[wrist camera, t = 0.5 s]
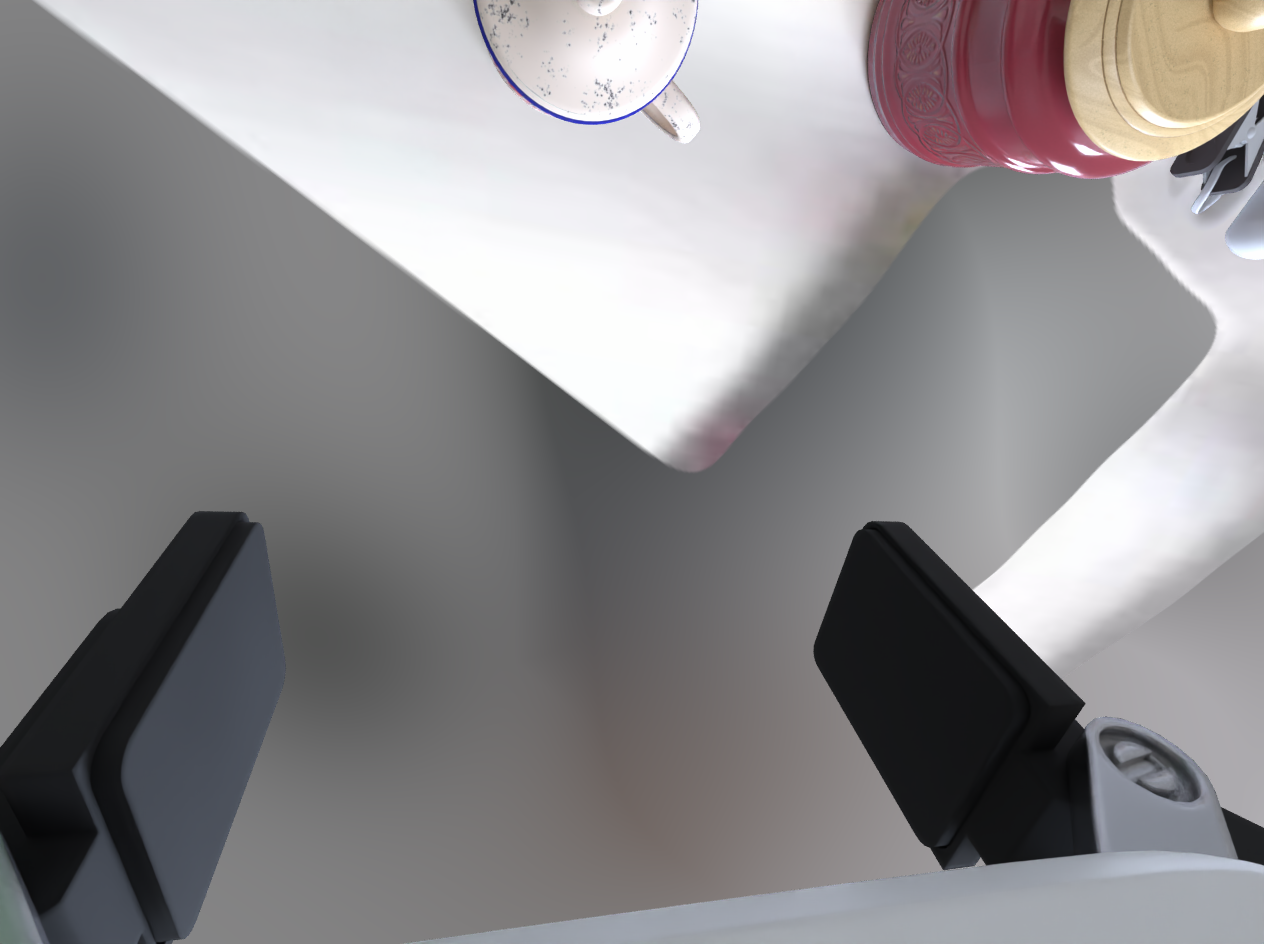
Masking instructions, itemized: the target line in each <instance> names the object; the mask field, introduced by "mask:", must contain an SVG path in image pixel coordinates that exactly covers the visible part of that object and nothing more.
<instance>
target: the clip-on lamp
mask: <svg viewBox="0 0 1264 944" xmlns="http://www.w3.org/2000/svg"><path fill="white" fill-rule="evenodd" d="M1263 154H1264V95H1263V96H1262V97H1261V98H1260V99H1259V100H1258V101H1257V102H1256V103H1255V104H1254V105H1253V106H1252V107H1251V108H1250V109H1249V110H1248V111H1247V112H1246V113H1245V114H1244V115H1243V116H1241V117H1240V118H1239V119H1238V120H1237V121H1236V122H1234V123H1233V124H1232V125H1231V126H1229V127H1228V128H1227V129H1225V130H1224V131H1223V132H1221V133H1220V134H1218V135H1217V136H1215V137H1214V138H1212V139H1211V140H1209V141H1207V142H1206V143H1204V144H1202V145H1200V146H1198V147H1196V148H1194V149H1192V150H1190V151H1188V152H1185V153H1183V154H1180V155H1178V156H1177V158H1176V160H1175V161H1174V163H1173V165H1172V166H1171V170H1170V172H1171V173H1172V174H1173V175H1174V176H1175V177H1186V176H1192V175H1197V174H1203V184H1202V187H1201V190H1202V191H1201V193H1200V194H1199V196H1198V198H1197V199H1196V201H1195V202H1194V204H1193V206H1192V208H1191V210H1192V211H1193V212H1194V213H1195V214H1199V213H1201V212H1203V211H1204V210H1206V209H1207V208H1208V207H1210V206H1211V205H1212V204H1213V203H1214V202H1216V201H1217V200H1218V199H1219V198H1220V197H1221V196H1222V195H1223V194H1227V193H1234V192H1237V191H1240V190H1242V189H1243V188H1245V187H1246V186H1247V185H1248V184H1249V183H1250V181H1251V180H1252V177H1253V175H1254V173H1255V171H1256V168H1257V166H1258V164H1259V162H1260V159H1261V157H1262V155H1263ZM1209 195H1211V196H1210V197H1209V198H1208V199H1207V197H1208V196H1209ZM1206 199H1207V200H1206ZM1205 200H1206V201H1205ZM1225 241H1226V243H1227V246H1228V248H1229V249H1230V250H1231V251H1232V252H1233V253H1234V254H1236V255H1238V256H1240V257H1243V258H1247V259H1263V258H1264V181H1263V182H1262V183H1261V185H1260V186H1259V188H1258V189H1257V190H1256V192H1255V193H1254V194H1253V196H1252V197H1251V198H1250V200H1249V201H1248V202H1247V204H1246V205H1245V206H1244V208H1243V209H1242V210H1241V212H1240V213H1239V215H1238V216H1237V217H1236V219H1235V220H1234V221H1233V223H1232V224H1231V225H1230V227H1229V228H1228V230H1227V231H1226V235H1225Z"/></svg>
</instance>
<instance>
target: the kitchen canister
mask: <svg viewBox="0 0 1264 944" xmlns="http://www.w3.org/2000/svg"><path fill="white" fill-rule="evenodd" d="M868 77H869V85H870V91H871V96H872V99H873V103H874V106H875V109H876V111H877V114H878V116H879V118H880V120H881V122H882V124H883V126H884V127H885V129H886V130H887V132H888V133H889V134H890V136H891V137H892V138H893V139H894V140H895V141H896V142H897V143H898V144H899V145H900V146H902V147H903V148H904V149H906V150H907V151H909V152H911V153H913V154H915V155H916V156H918V157H920V158H922V159H924V160H926V161H928V162H931V163H934V164H938V165H943V166H952V167H974V166H980V165H981V166H993V167H1005V168H1008V169H1011V170H1014V171H1017V172H1021V173H1027V174H1050V173H1056V172H1059V173H1061V174H1064V175H1067V176H1071V177H1075V178H1083V179H1098V178H1106V177H1113V176H1117V175H1120V174H1124V173H1127V172H1130V171H1133V170H1135V169H1138V168H1140V167H1142V166H1145V165H1147V164H1149V163H1151V162H1152V161H1155V160H1161V159H1166V158H1170V157H1174V156H1177V155H1180V154H1183V153H1185V152H1188V151H1190V150H1192V149H1194V148H1196V147H1198V146H1200V145H1202V144H1204V143H1206V142H1207V141H1209V140H1211V139H1212V138H1214V137H1215V136H1217V135H1218V134H1220V133H1221V132H1223V131H1224V130H1225V129H1227V128H1228V127H1229V126H1231V125H1232V124H1233V123H1234V122H1236V121H1237V120H1238V119H1239V118H1240V117H1241V116H1243V115H1244V114H1245V113H1246V112H1247V111H1248V110H1249V109H1250V108H1251V107H1252V106H1253V105H1254V104H1255V103H1256V102H1257V101H1258V100H1259V99H1260V98H1261V97H1262V96H1263V95H1264V0H879V3H878V6H877V9H876V12H875V16H874V19H873V24H872V28H871V34H870V40H869V49H868Z"/></svg>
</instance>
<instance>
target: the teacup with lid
mask: <svg viewBox="0 0 1264 944" xmlns="http://www.w3.org/2000/svg"><path fill="white" fill-rule="evenodd" d="M473 2H474V8H475V13H476V17H477V21H478V24H479V27H480V30H481V33H482V36H483V39H484V41H485V43H486V46H487V48H488V51H489V54H490V56H491V58H492V61H493V63H494V65H495V67H496V69H497V71H498V72H499V74H500V76H501V77H502V79H503V80H504V81H505V83H506V84H507V85H508V87H509V88H510V89H511V90H512V91H513V92H514V93H515V94H516V95H517V96H518V97H519V98H520V99H521V100H522V101H524V102H525V103H526V104H528V105H529V106H531V107H532V108H534V109H535V110H537V111H539V112H541V113H544V114H546V115H549V116H552V117H556V118H559V119H562V120H564V121H568V122H572V123H578V124H587V125H597V124H606V123H611V122H616V121H619V120H622V119H625V118H627V117H629V116H631V115H633V114H635V113H637V112H639V111H641V112H642V113H643V114H644V115H645V116H646V117H647V118H648V119H649V120H650V121H651V122H652V123H653V124H654V125H655V126H656V127H657V128H659V129H660V130H661V131H662V132H664V133H665V134H666V135H667V136H669V137H670V138H672V139H674V140H675V141H678V142H680V143H688V142H690V141H691V140H692V139H693V138H694V136H695V135H696V134H697V133H698V131H699V129H700V119H699V116H698V114H697V112H696V111H695V109H694V107H693V106H692V104H691V103H690V101H689V100H688V99H687V97H686V96H685V95H684V94H683V92H682V91H681V90H680V89H679V88H678V86H677V85H676V84H675V83H674V82H673V81H672V79H673V78H674V76H675V75H676V73H677V71H678V70H679V68H680V66H681V64H682V62H683V60H684V58H685V56H686V53H687V51H688V48H689V46H690V43H691V39H692V36H693V32H694V27H695V23H696V17H697V9H698V0H473Z"/></svg>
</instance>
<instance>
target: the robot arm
mask: <svg viewBox="0 0 1264 944" xmlns="http://www.w3.org/2000/svg"><path fill="white" fill-rule="evenodd" d="M814 658H815V661H816V664H817V666H818V668H819V670H820V671H821V673H822V675H823V677H824V678H825V680H826V682H827V683H828V685H829V687H830V688H831V690H832V692H833V694H834V695H835V697H836V699H837V701H838V702H839V704H840V705H841V707H842V709H843V711H844V712H845V714H846V716H847V718H848V720H849V721H850V723H851V725H852V726H853V728H854V730H855V731H856V733H857V735H858V737H859V738H860V740H861V742H862V744H863V745H864V747H865V749H866V750H867V752H868V754H869V756H870V757H871V759H872V761H873V762H874V764H875V766H876V768H877V769H878V771H879V773H880V775H881V776H882V778H883V779H884V781H885V783H886V785H887V787H888V788H889V790H890V792H891V793H892V795H893V797H894V799H895V800H896V802H897V804H898V805H899V807H900V809H901V811H902V812H903V814H904V816H905V817H906V819H907V821H908V823H909V824H910V826H911V828H912V829H913V831H914V833H915V835H916V836H917V837H918V839H919V840H920V842H921V843H922V844H924V845H925V846H927V847H930V848H931V850H932V852H933V854H934V855H935V857H936V859H937V860H938V862H939V864H940V865H941V867H942V869H943V870H947V871H940V872H932V873H925V874H916V875H909V876H900V877H892V878H884V879H876V880H868V881H861V882H853V883H845V884H837V885H830V886H822V887H814V888H807V889H799V890H792V891H784V892H777V893H769V894H761V895H754V896H747V897H739V898H731V899H724V900H716V901H709V902H701V903H694V904H686V905H679V906H672V907H665V908H657V909H650V910H642V911H634V912H627V913H619V914H612V915H604V916H597V917H590V918H583V919H576V920H568V921H561V922H555V923H547V924H540V925H532V926H525V927H518V928H511V929H503V930H496V931H490V932H482V933H475V934H468V935H461V936H453V937H446V938H439V939H431V940H424V941H417V942H410V943H403V944H1264V828H1263V827H1261V826H1259V825H1257V824H1255V823H1252V822H1251V821H1249V820H1246V819H1244V818H1242V817H1240V816H1238V815H1236V814H1234V813H1232V812H1230V811H1228V810H1226V809H1224V808H1222V807H1220V804H1219V801H1218V798H1217V795H1216V792H1215V790H1214V788H1213V786H1212V784H1211V782H1210V780H1209V778H1208V777H1207V775H1206V774H1205V773H1204V772H1203V771H1202V770H1201V768H1200V767H1199V766H1198V765H1197V764H1196V763H1195V762H1194V760H1192V759H1191V758H1190V757H1189V756H1188V755H1187V754H1185V753H1184V752H1183V751H1182V750H1181V749H1179V748H1178V747H1177V746H1176V745H1174V744H1173V743H1171V742H1170V741H1168V740H1167V739H1165V738H1164V737H1162V736H1161V735H1159V734H1157V733H1155V732H1153V731H1151V730H1149V729H1147V728H1145V727H1143V726H1141V725H1139V724H1136V723H1133V722H1130V721H1127V720H1124V719H1121V718H1113V717H1101V718H1095V719H1093V720H1092V721H1091V722H1090V723H1089V724H1088V725H1087V726H1086V727H1085V729H1083V727H1082V726H1081V725H1080V724H1079V723H1078V722H1077V721H1076V720H1075V718H1076V717H1077V715H1078V714H1079V712H1080V711H1081V709H1082V708H1083V707H1084V705H1085V702H1083V700H1082V699H1081V698H1080V697H1079V696H1077V694H1076V693H1075V692H1074V691H1073V690H1071V688H1070V687H1068V685H1067V684H1066V683H1065V682H1064V681H1063V680H1062V679H1061V678H1060V677H1059V676H1058V675H1057V674H1056V673H1055V672H1054V671H1053V670H1052V669H1051V668H1050V667H1049V666H1048V665H1047V664H1046V663H1045V662H1044V661H1043V660H1042V659H1041V658H1040V657H1039V656H1038V655H1037V654H1036V653H1035V652H1034V651H1033V650H1032V649H1031V648H1030V647H1029V646H1028V645H1027V644H1026V643H1025V642H1024V641H1023V640H1022V639H1021V638H1020V637H1019V636H1018V635H1017V634H1016V633H1015V632H1014V631H1013V630H1012V629H1011V628H1010V627H1009V626H1008V625H1007V624H1006V623H1005V622H1004V621H1003V620H1002V619H1001V618H1000V617H999V616H998V615H997V614H996V613H995V612H994V611H993V610H992V609H991V608H990V607H989V606H988V605H987V604H986V603H985V602H984V601H983V600H982V599H981V598H980V597H979V596H978V595H977V594H976V593H975V592H974V591H973V590H972V589H971V588H970V587H969V586H968V585H967V584H966V583H965V582H964V581H963V580H962V579H961V578H960V577H958V575H957V574H956V573H955V572H954V571H953V570H952V569H951V568H950V567H949V566H948V565H947V564H946V563H945V562H944V561H943V560H942V559H941V558H940V557H939V556H938V555H937V554H936V553H935V552H934V551H933V550H932V549H931V548H930V547H929V546H928V545H927V544H926V543H925V542H924V541H923V540H922V539H921V538H920V537H919V536H918V535H917V534H916V533H915V532H914V531H913V530H912V529H911V528H910V527H909V526H908V525H906V524H905V523H903V522H884V521H883V522H882V521H871V522H869V523H867V524H866V525H865V526H864V527H863V529H862V530H859V531H857V533H856V534H855V536H854V537H853V540H852V543H851V546H850V548H849V551H848V554H847V557H846V559H845V562H844V565H843V567H842V570H841V573H840V575H839V578H838V581H837V584H836V586H835V589H834V592H833V594H832V597H831V600H830V602H829V605H828V608H827V611H826V613H825V616H824V619H823V621H822V624H821V627H820V629H819V632H818V635H817V638H816V640H815V644H814ZM285 671H286V664H285V656H284V650H283V644H282V638H281V632H280V626H279V620H278V614H277V608H276V602H275V596H274V590H273V584H272V578H271V571H270V565H269V559H268V554H267V547H266V541H265V536H264V530H263V527H262V525H261V524H260V523H256V522H254V523H253V522H249V519H248V517H247V515H246V514H245V513H243V512H210V511H207V512H205V511H199V512H195V513H194V514H193V515H192V516H191V517H190V518H189V519H188V520H187V522H186V523H185V524H184V526H183V527H182V528H181V530H180V531H179V532H178V534H177V535H176V536H175V538H174V539H173V540H172V542H171V543H170V544H169V546H168V547H167V548H166V550H165V551H164V552H163V553H162V555H161V556H160V557H159V559H158V560H157V561H156V563H155V564H154V565H153V567H152V568H151V569H150V571H149V572H148V573H147V575H146V576H145V577H144V579H143V580H142V581H141V583H140V584H139V585H138V587H137V588H136V589H135V590H134V592H133V593H132V594H131V596H130V597H129V598H128V600H127V601H126V602H125V604H124V605H123V606H122V608H121V609H115V610H113V611H110V612H108V613H107V614H106V615H105V616H104V617H103V618H102V619H101V620H100V621H99V622H98V623H97V624H96V626H95V627H94V628H93V630H92V631H91V632H90V633H89V635H88V636H87V637H86V638H85V640H84V641H83V642H82V644H81V645H80V646H79V647H78V649H77V650H76V651H75V653H74V654H73V655H72V656H71V658H70V659H69V660H68V662H67V663H66V664H65V666H64V667H63V668H62V669H61V671H60V672H59V673H58V675H57V676H56V677H55V678H54V679H53V681H52V682H51V683H50V685H49V686H48V687H47V689H46V690H45V691H44V692H43V694H42V695H41V696H40V697H39V699H38V700H37V701H36V703H35V704H34V705H33V706H32V708H31V709H30V710H29V712H28V713H27V714H26V716H25V717H24V718H23V719H22V720H21V722H20V723H19V724H18V726H17V727H16V728H15V729H14V731H13V732H12V733H11V735H10V736H9V737H8V738H7V740H6V741H5V742H4V744H3V745H2V746H1V747H0V944H172V942H173V940H179V939H185V938H186V937H187V936H188V935H189V934H190V932H191V931H192V928H193V927H194V924H195V922H196V920H197V917H198V914H199V912H200V909H201V906H202V904H203V901H204V898H205V896H206V893H207V890H208V888H209V885H210V882H211V880H212V877H213V874H214V871H215V869H216V866H217V863H218V860H219V857H220V855H221V852H222V850H223V847H224V844H225V842H226V839H227V836H228V834H229V831H230V828H231V825H232V823H233V820H234V817H235V815H236V812H237V809H238V807H239V804H240V801H241V799H242V796H243V793H244V790H245V787H246V785H247V782H248V780H249V777H250V774H251V771H252V769H253V766H254V763H255V761H256V758H257V755H258V753H259V750H260V747H261V745H262V742H263V739H264V737H265V734H266V731H267V728H268V726H269V723H270V720H271V718H272V715H273V712H274V709H275V707H276V704H277V701H278V699H279V696H280V693H281V691H282V688H283V684H284V679H285ZM980 857H981V858H982V860H983V861H984V863H985V864H986V866H979V867H971V868H963V867H970V866H975V865H976V863H977V862H978V860H979V859H980ZM956 868H963V869H956ZM948 869H956V870H948Z"/></svg>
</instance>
